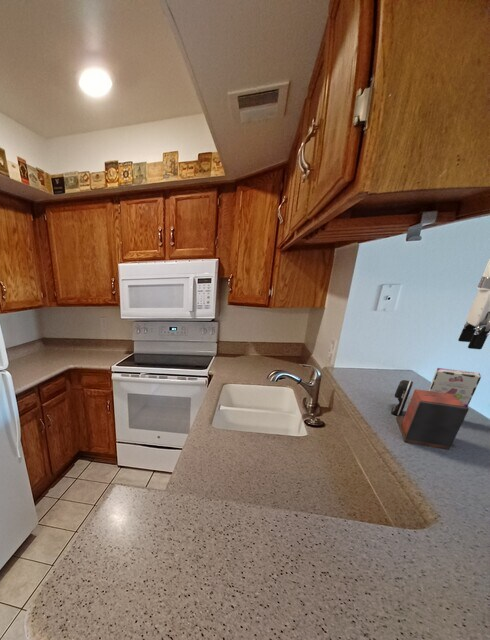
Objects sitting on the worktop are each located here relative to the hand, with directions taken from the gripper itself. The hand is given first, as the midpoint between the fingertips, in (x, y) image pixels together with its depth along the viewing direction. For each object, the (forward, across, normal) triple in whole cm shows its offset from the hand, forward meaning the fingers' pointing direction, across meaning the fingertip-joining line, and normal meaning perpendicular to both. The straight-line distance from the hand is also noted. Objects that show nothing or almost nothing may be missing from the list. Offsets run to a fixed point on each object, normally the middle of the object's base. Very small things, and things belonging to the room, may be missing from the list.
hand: (469, 344), depth 101 cm
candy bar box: (+25, 0, -1) cm, 25 cm away
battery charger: (+25, -1, +12) cm, 28 cm away
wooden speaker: (+25, -16, +8) cm, 31 cm away
